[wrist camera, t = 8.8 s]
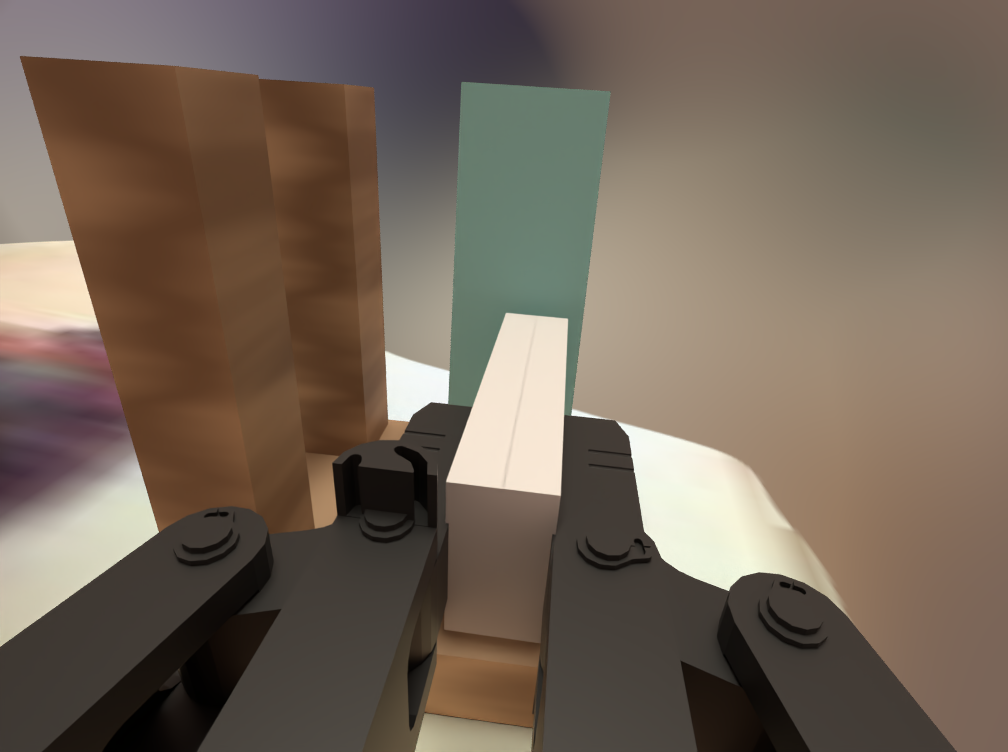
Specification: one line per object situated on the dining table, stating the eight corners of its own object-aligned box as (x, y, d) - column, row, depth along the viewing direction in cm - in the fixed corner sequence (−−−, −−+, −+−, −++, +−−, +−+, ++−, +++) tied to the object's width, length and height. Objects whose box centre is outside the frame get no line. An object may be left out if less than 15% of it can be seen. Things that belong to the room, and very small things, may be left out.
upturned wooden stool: (181, 677, 19) (-19, 52, 10) (328, 459, 30) (289, 82, 22) (575, 733, 18) (699, 99, 10) (571, 486, 29) (626, 104, 21)
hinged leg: (435, 637, 17) (457, 81, 12) (454, 569, 20) (477, 104, 15) (545, 652, 17) (615, 92, 12) (547, 580, 20) (603, 112, 15)
